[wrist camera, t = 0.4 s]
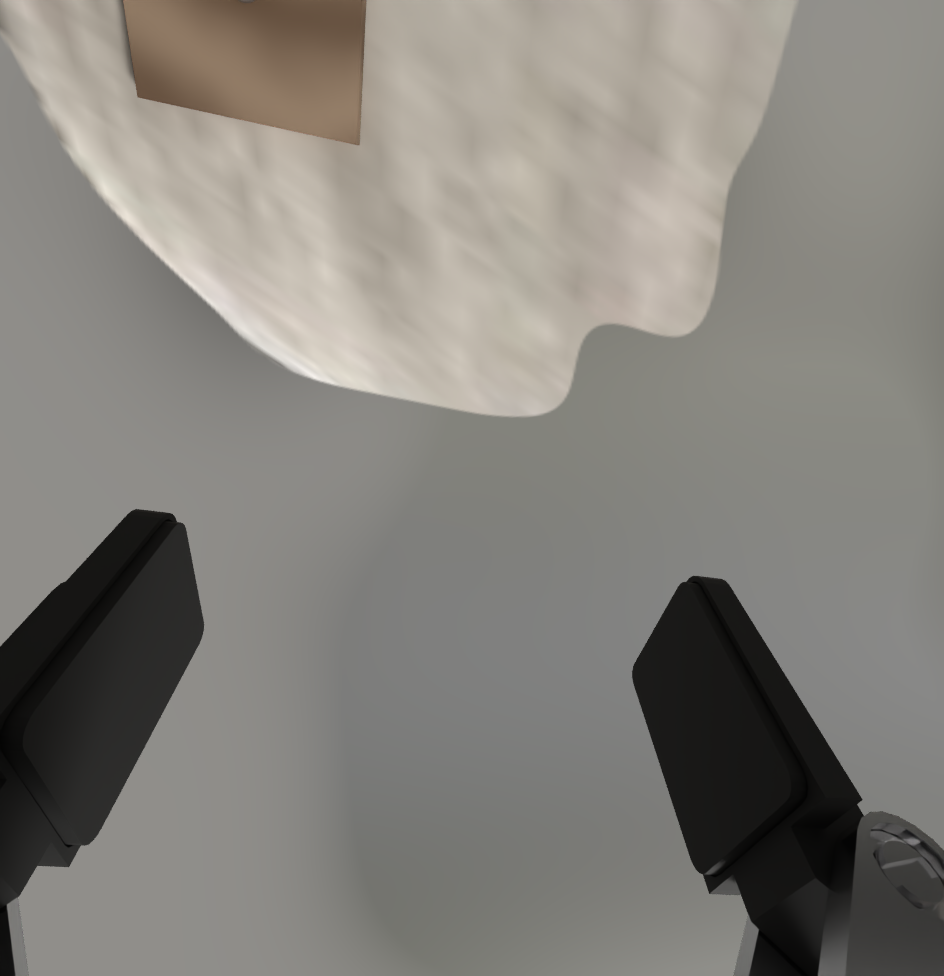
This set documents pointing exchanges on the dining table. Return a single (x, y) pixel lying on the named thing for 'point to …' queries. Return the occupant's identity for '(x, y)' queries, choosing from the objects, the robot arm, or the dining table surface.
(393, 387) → the dining table surface
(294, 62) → the pin board
